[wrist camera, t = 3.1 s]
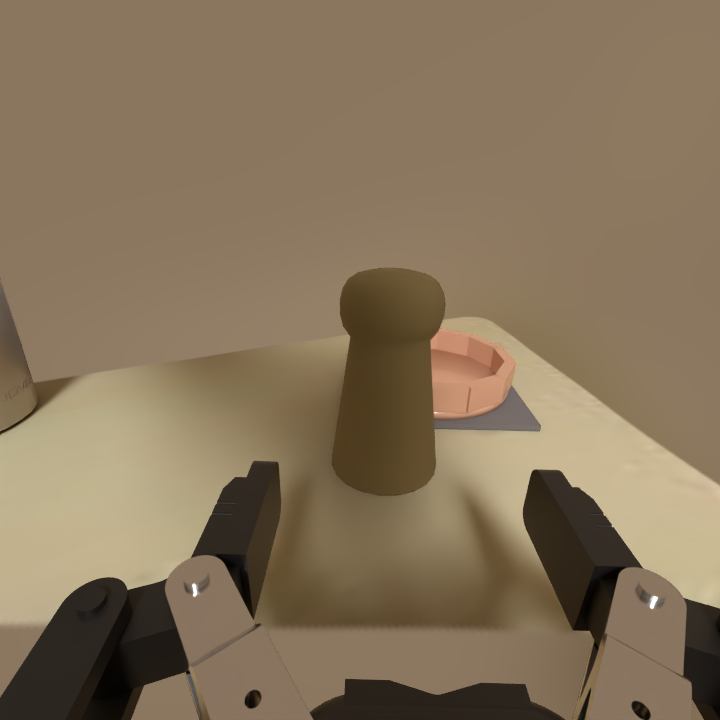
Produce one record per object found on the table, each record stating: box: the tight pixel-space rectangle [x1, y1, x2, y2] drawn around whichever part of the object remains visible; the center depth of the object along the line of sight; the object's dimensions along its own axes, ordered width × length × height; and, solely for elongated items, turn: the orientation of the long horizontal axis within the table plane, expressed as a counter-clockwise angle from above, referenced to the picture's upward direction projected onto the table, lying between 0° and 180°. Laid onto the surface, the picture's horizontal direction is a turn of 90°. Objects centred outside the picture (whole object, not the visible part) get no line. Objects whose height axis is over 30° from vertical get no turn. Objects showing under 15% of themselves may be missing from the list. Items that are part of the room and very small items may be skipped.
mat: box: [434, 386, 541, 431], centre depth 33 cm, size 13×13×1 cm
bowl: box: [430, 328, 516, 420], centre depth 33 cm, size 12×12×2 cm
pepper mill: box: [332, 268, 445, 495], centre depth 22 cm, size 6×6×11 cm
